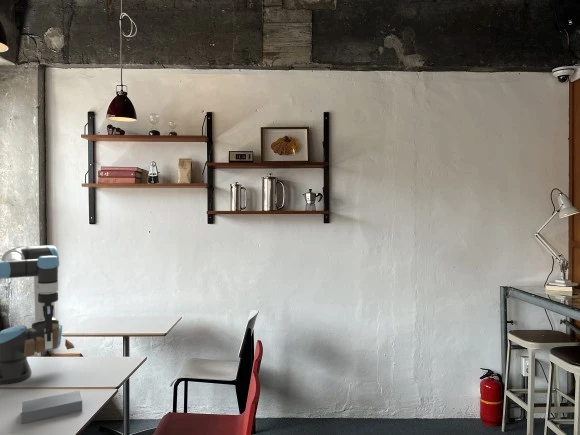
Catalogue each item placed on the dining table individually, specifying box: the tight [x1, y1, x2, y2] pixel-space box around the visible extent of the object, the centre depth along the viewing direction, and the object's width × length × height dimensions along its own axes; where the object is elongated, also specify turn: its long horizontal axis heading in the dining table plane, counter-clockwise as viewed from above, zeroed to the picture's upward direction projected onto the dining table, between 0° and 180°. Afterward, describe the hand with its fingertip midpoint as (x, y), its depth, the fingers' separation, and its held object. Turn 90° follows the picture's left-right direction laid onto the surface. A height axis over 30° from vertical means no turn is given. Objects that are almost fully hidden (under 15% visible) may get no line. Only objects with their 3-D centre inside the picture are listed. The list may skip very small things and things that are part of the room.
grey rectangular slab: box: [21, 390, 83, 424], centre depth 169 cm, size 11×20×4 cm, turn 121°
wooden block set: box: [24, 324, 75, 358], centre depth 183 cm, size 18×9×10 cm, turn 133°
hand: (48, 345), depth 185 cm, fingers closed on wooden block set, 8 cm apart
